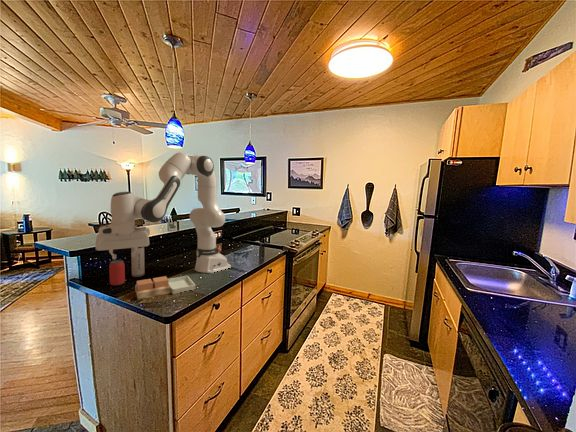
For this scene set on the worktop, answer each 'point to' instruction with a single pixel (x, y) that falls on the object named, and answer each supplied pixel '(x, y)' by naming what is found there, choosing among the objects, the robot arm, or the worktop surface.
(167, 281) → the tile
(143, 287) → the tile
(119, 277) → the beer can
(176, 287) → the tray
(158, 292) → the bench
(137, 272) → the travel mug
